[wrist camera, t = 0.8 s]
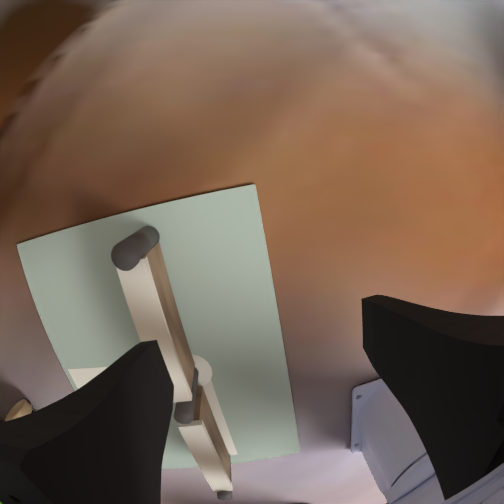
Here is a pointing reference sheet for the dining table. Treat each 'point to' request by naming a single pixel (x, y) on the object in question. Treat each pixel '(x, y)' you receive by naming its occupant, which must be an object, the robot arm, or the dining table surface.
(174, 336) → the hinged fence section
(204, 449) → the fixed fence section
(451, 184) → the dining table surface
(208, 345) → the card
